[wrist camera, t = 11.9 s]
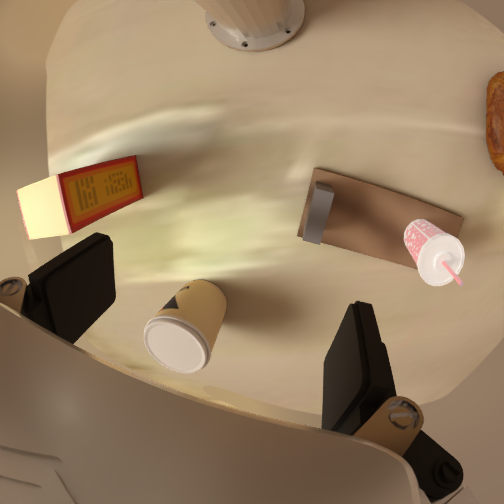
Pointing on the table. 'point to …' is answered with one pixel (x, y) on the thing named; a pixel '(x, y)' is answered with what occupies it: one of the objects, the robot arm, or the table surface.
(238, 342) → the table surface
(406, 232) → the beverage cup
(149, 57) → the table surface
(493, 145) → the croissant
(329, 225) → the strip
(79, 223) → the baking soda box
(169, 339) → the coffee cup
